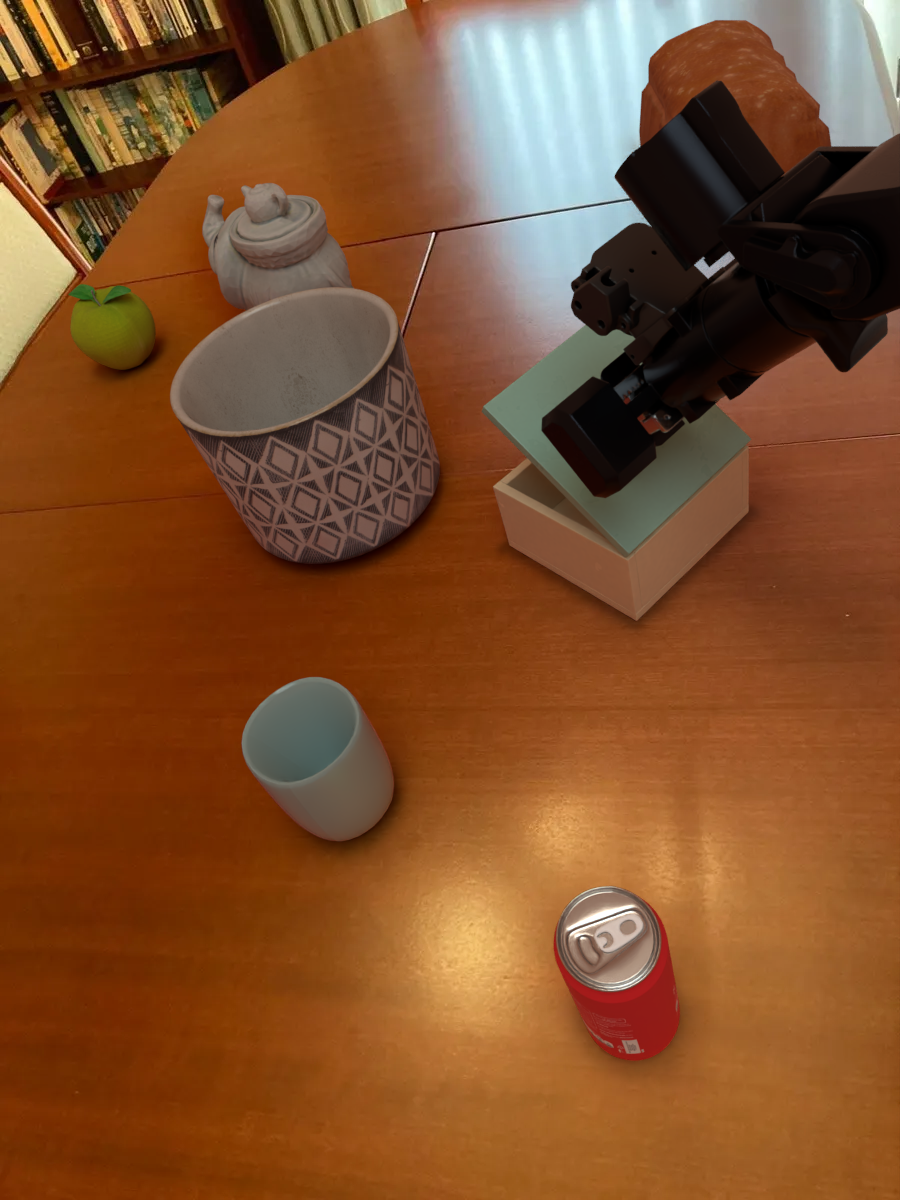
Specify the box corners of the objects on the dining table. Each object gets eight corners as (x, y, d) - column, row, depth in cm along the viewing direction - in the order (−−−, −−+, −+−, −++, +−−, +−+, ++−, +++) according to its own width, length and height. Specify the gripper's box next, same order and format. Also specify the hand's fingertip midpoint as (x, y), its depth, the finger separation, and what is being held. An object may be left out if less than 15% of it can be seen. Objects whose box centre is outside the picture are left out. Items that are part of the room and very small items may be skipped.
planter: (481, 443, 83) (436, 287, 71) (394, 597, 73) (324, 445, 61) (314, 427, 91) (249, 285, 79) (215, 563, 81) (123, 424, 69)
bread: (778, 128, 108) (782, -10, 97) (837, 223, 92) (850, 70, 81) (637, 164, 111) (625, 34, 100) (671, 262, 95) (661, 119, 84)
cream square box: (509, 545, 74) (492, 486, 69) (616, 451, 78) (607, 389, 73) (636, 621, 65) (627, 560, 60) (749, 511, 69) (749, 446, 64)
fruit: (129, 337, 115) (87, 267, 107) (182, 341, 110) (142, 269, 103) (85, 381, 110) (38, 311, 103) (138, 387, 106) (93, 315, 98)
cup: (341, 880, 58) (283, 810, 50) (279, 808, 63) (218, 735, 55) (429, 799, 60) (385, 721, 53) (362, 735, 65) (314, 655, 57)
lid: (481, 411, 62) (483, 406, 61) (608, 309, 66) (612, 303, 65) (625, 557, 60) (629, 554, 60) (747, 443, 64) (752, 438, 64)
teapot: (247, 321, 110) (176, 171, 96) (362, 283, 109) (306, 126, 95) (248, 395, 99) (168, 238, 85) (376, 354, 97) (316, 188, 84)
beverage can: (568, 992, 50) (531, 913, 41) (648, 948, 50) (627, 861, 42) (615, 1084, 46) (585, 1019, 38) (700, 1036, 47) (690, 961, 38)
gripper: (762, 120, 50) (629, 257, 65) (536, 293, 44) (446, 399, 59) (878, 278, 51) (721, 377, 66) (672, 466, 45) (550, 528, 60)
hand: (613, 415), depth 63 cm, fingers closed, pressing on lid
